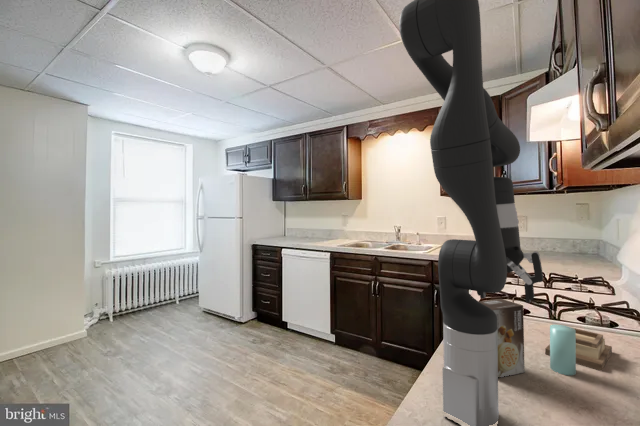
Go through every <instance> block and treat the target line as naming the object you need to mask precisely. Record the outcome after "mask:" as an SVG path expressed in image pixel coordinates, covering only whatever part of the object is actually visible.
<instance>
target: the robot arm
mask: <svg viewBox="0 0 640 426" xmlns="http://www.w3.org/2000/svg"><path fill="white" fill-rule="evenodd" d="M398 21H399V23H398V24H399V27H398V28H399V35H400V38H401V41H402V43H403V46H404V49H405V50H406V52H407V54H408V56H409V57H410V58H411V60H412V61H413V62H414V65H415V66H417V68H418V70H419V71H420V72H421V74H422V75H423V76H424V77H425V78H426V80H427V81H428V82H429V84H430V85H431V86H432V88H434V90H435V91H436V92H437V94H438V95H439V97H441V98H442V100H443V102H442V106H441V108H440V110H439V112H438V114H437V117H436V119H435V121H434V123H433V127H432V130H431V134H430V139H429V144H430V146H429V147H430V152H431V158H432V166H433V170H434V175H435V178H436V179H437V182H438V184H439V185H440V186H441V188H442V189H443V190H444V191H445V193H446V194H447V195H448V196H449V198H450V199H452V201H453V202H454V203H455V205H457V207H458V208H459V209H460V210H461V212H462V213H463V214H464V216H465V218H466V219H467V220H468V222H469V225H470V227H471V230H472V232H473V236H474V239H475V240H472V239H456V238H455V239H452V238H451V239H448V240H446V241H444V243H442V245H441V247H440V248H439V249H440V250H439V252H438V259H437V260H438V261H437V263H438V264H437V268H438V269H437V272H438V274H437V275H438V282H439V283H438V284H439V296H440V297H439V298H440V299H439V301H440V309H441V313H442V326H443V329H442V330H443V331H442V333H443V334H442V335H443V336H442V337H443V367H442V411H444V412H446V413H448V414H450V415H452V416H454V417H456V418H458V419H460V420H462V421H463V422H465V423H467V424H468V425H470V426H489V425H493V424H495V423H496V422H497V421H498V419H499V378H498V334H497V316H496V314H495V312H494V311H493V310H491V309H490V308H489V307H487V306H485V305H483V304H482V303H480V302H479V300H477V299H476V298H475V297H473V296H472V295H471V294H470V293H469V291H474V292H476V294H477V295H478V296H479V297H480V299H485V298H486V297H487V293H488V294H498V293H500V292H502V290H503V289H504V288H505V286H506V285H507V284H506V283H507V277H508V273H512V272H513V273H515V275H517V276H518V277H519V278H520V279H521V280H522V281H523V282H524V294H525V302H526V303H529V304H530V303H531V302H532V301H533V300H534V298H535V290H534V284H537V283H541V282H543V281H544V273H543V268H542V261H541V256H540V253H539V252H538V251H533V252H524V251H522V250H523V249H522V248H521V240H520V230H519V228H520V227H519V224H520V223H519V219H518V218H519V216H518V212H517V208H516V204H515V203H516V202H515V193H514V192H515V191H514V190H515V189H514V184H513V181H512V178H510V177H506V176H494V168H496V167H501V166H502V167H503V166H508V165H511V164H513V163H515V162H516V161H517V160H518V158H519V156H520V154H521V145H520V142H519V139H518V138H517V136H516V135H515V133H514V132H513V131H512V129H510V128H508V126H507V125H506V124H505V123H504V122H503V121H502V120H501V119H500V118H499V115H498V113H497V110H496V107H495V104H494V102H493V99H492V97H491V95H490V94H489V92H488V91H487V89H485V87H484V81H483V62H482V61H483V59H482V55H483V54H482V28H481V27H482V26H481V11H480V1H479V0H412V1H410V3H408V4H406V5H405V6H404V8H403V9H402V11H401V12H400V15H399V20H398ZM451 51H452V65H451V64H450V63H449V62H448V61H447V60H446V59H445V57H444V56H443V55H444V54H445V53H448V52H451ZM524 259H526V260H527V262H528V263H530V264H532V267H533V273H534V275H532V276H531V275H530V274H529V273H528V272H527V270H525V268H524V267H523V266H522V265H521V262H523V260H524Z"/></svg>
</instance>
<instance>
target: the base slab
mask: <svg viewBox="0 0 640 426" xmlns="http://www.w3.org/2000/svg"><path fill="white" fill-rule="evenodd" d="M572 328H573V329H575V330H576V365H581V366H584V367H587V368H590V369H594V370H597V371H603V370H604V367H605V365H606V364H607V362H608V360H609V359H610V356H611V354H612V353H613V346H611V345H608V344H606V338H604V334H602V333H597V332H593V331H589V330H583V329H578V328H576V327H575V328H574V327H572ZM544 350H545V352H544V353H545V355H546V356H550V343H549V344H548V345H547V346H546V347H545V349H544Z"/></svg>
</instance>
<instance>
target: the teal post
mask: <svg viewBox="0 0 640 426" xmlns="http://www.w3.org/2000/svg"><path fill="white" fill-rule="evenodd" d="M573 328H574V327H571V326H567V325H564V324H551V325H549V344H550V355H549V368H550V369H551V370H552V371H554V372H555V373H557V372H558V374H560V375H563V374H564V375H565V376H574V375H575V376H576V373H577V363H576V330H575V329H573Z"/></svg>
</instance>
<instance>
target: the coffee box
mask: <svg viewBox="0 0 640 426" xmlns="http://www.w3.org/2000/svg"><path fill="white" fill-rule="evenodd" d="M478 302H480V303H482V304H483V305H485V306H487V307H489V308H490V309H491V310H493V311H494V312H495V314H496V316H497V334H498V377H501V378H504V376H505V377H508V376H509V375H510V376H513V375H518V374H519V375H520V374H522V373H523V374H524V373H525V368H526V367H525V335H524V334H525V331H524V329H525V328H524V327H525V326H524V305H522V304H520V303H516V302H513V301H510V300H507V299H504V298H496V299H487V300H482V301H481V300H480V301H479V300H478Z"/></svg>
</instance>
